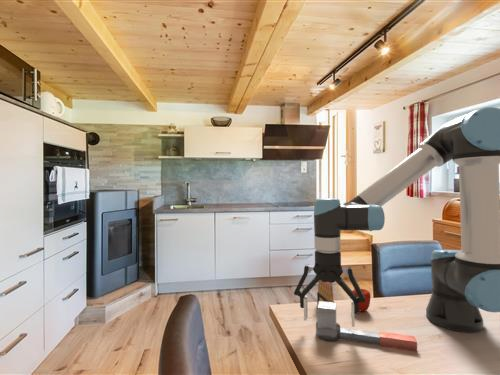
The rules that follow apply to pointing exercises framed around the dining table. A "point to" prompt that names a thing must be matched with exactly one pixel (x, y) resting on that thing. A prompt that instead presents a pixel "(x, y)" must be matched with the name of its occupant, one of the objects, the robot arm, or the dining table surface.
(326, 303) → the brushed steel cube
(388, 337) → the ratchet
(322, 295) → the ammunition clip
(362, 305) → the apple
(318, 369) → the dining table surface
